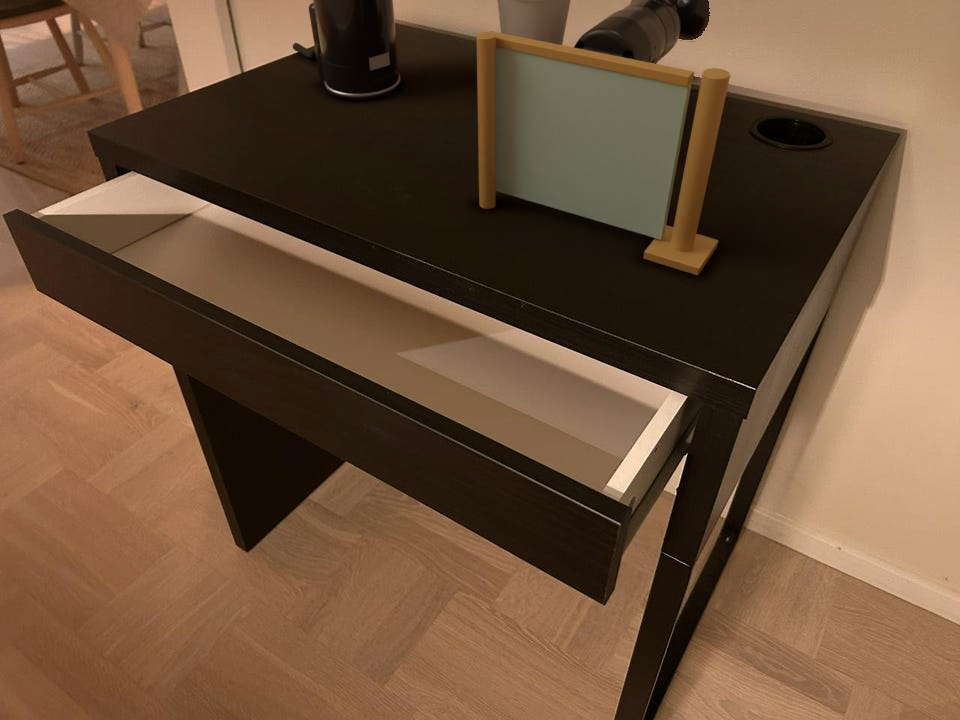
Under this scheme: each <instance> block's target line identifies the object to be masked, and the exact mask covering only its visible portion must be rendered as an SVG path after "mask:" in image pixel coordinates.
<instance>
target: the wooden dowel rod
mask: <svg viewBox="0 0 960 720" xmlns="http://www.w3.org/2000/svg"><path fill="white" fill-rule="evenodd" d="M476 79H477V81H476V87H477V89H476V91H477V141H478V142H477V144H478V145H477V148H478V153H477V154H478V203H479V205H478V206H479V207H480V208H482V209H484V210H490V209H493V208H495V207H496V205H497V191H496V35H495V34H494V33H491V31H490V32H489V31H483V32H479V33H477V34H476Z"/></svg>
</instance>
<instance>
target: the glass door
mask: <svg viewBox="0 0 960 720" xmlns="http://www.w3.org/2000/svg"><path fill="white" fill-rule="evenodd" d="M490 32H491V33H494V34H495V35H496V192H497V193H498V192H499V193H501V194H505V195H507V196H511V197H515V198H518V199H521V200H525V201H528V202H532V203H536V204H538V205H542V206H546V207H549V208H553V209H555V210H559V211H562V212H566V213H568V214H573V215H575V216H579V217H583V218H585V219H590V220H593V221H595V222H599V223H603V224H606V225H609V226H613V227H616V228H619V229H623V230H627V231H629V232H633V233H637V234H640V235H644V236H647V237H650V238H654V239H655V238H657V239H660V240H661V239H662V238H663V237H664V235H665V229H666V225H667V223H668V218H669V211H670V207H671V201H672V195H673V189H674V184H675V178H676V173H677V169H678V161H679V156H680V151H681V145H682V140H683V134H684V129H685V123H686V118H687V112H688V106H689V101H690V94H691V90H692V86H693V85H692V84H693V81H694V78H695V77H694V76H695V71H693V70H689V69H684V68H678V67H673V66H668V65H663V64H659V63H657V64H654V63H649V62H644V61H639V60H634V59H629V58H624V57H619V56H614V55H609V54H604V53H598V52H593V51H588V50H583V49H578V48H574V46H573V47H572V46H568V45H563V44H562V45H558V44H553V43H548V42H543V41H538V40H533V39H528V38H523V37H518V36H513V35H508V34H503V33H501V32H499V31H493V30H492V31H490Z"/></svg>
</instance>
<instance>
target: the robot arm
mask: <svg viewBox="0 0 960 720" xmlns="http://www.w3.org/2000/svg"><path fill="white" fill-rule="evenodd" d="M394 9H395V8H394V0H312V2H311V3H310V4H309V6H308V14H309V21H310V27H311V32H312V38H313V45H314V46H311V48H310V49H308V48H306V47H305V46H304V45H301V44H300V43H298V42H294V43H293V44H292V49H293V50H294V51H295V52H297V53H299V54H300V55H301V56H303V57H305V58H306V59H307V58H308V59H311V60H314V59H316V63H317V70H318V76H319V83H320V85H321V86H324V87H325V90H326V92H327V93H329V94H330V95H332V96H334V97H337V98H341V99H345V100H369V99H376V98H380V97H383V96H386V95H390V94H391V93H394V92H395V91H396V90H397V89H398V88H399V87H400V86H401V74H400V70H399V57H398V45H397V43H398V42H397V34H396V23H395V22H396V21H395V11H394ZM709 9H710V8H709V1H708V0H631V1H630V2H629V4H628V5H626V7H624V8H623V9H620V10H617V11H615V12H613V13H611V14H609V16H607V17H606V18H604V19H603V20H602V21H600V22H599V23H597V24H596V25H594V26H593V27H592V28H590V29H589V30H587V31H586V32H584V33H583V34H582V35H581V36H580V37H579V38H578V40H577V41H576V43H575V44H574V46H573V48H578V49H583V50H588V51H593V52H598V53H604V54H609V55H614V56H619V57H624V58H629V59H634V60H639V61H644V62H649V63H654V64H658V62H659V61H661V60H662V59H663V58H664V57H666V55H668V53H670V52H671V50H672V49H673V48H674V47H675V46H676V44H677V43H678V41H679V40H678V39H682V40H693V39H696V38H698V37H699V36H701V35H702V33H703V31H705V28H706V27H707V25H708V22H709V16H710V15H709V14H710V12H709ZM682 40H681V41H682Z"/></svg>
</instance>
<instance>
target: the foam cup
mask: <svg viewBox="0 0 960 720" xmlns="http://www.w3.org/2000/svg"><path fill="white" fill-rule="evenodd" d="M570 5H571V0H497V11H498V17H499V18H498V19H499V26H500V33H503V34H508V35H513V36H518V37H523V38H528V39H533V40H538V41H543V42H548V43H553V44H558V45H563V42H564V38H565V32H566V27H567V21H568V16H569V11H570Z"/></svg>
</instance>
